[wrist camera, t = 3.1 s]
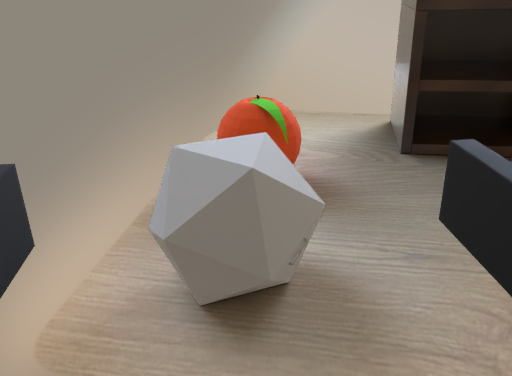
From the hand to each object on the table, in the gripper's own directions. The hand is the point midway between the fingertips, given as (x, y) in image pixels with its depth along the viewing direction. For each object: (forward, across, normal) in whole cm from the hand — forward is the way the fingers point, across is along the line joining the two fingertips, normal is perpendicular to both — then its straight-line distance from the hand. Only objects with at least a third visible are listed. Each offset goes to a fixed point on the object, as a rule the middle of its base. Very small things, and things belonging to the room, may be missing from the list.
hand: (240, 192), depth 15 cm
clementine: (+24, +3, -10) cm, 26 cm away
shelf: (+32, +26, -10) cm, 42 cm away
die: (+10, 0, -10) cm, 14 cm away
